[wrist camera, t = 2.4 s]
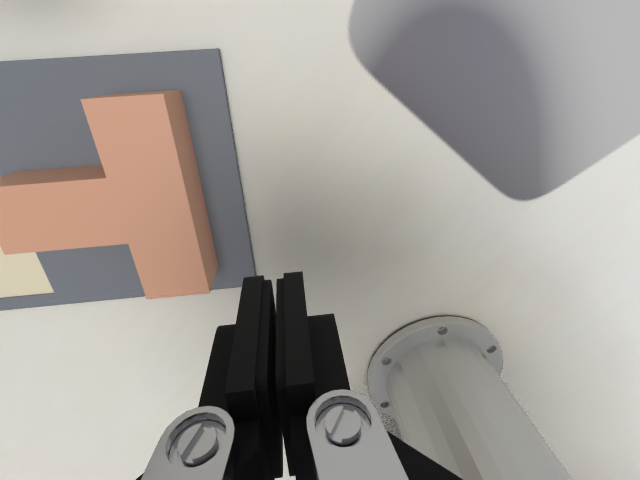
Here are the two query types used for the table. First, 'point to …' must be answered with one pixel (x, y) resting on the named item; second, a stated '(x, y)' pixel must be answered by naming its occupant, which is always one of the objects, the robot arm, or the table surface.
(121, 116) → the tee
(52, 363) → the table surface
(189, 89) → the mat
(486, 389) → the robot arm
